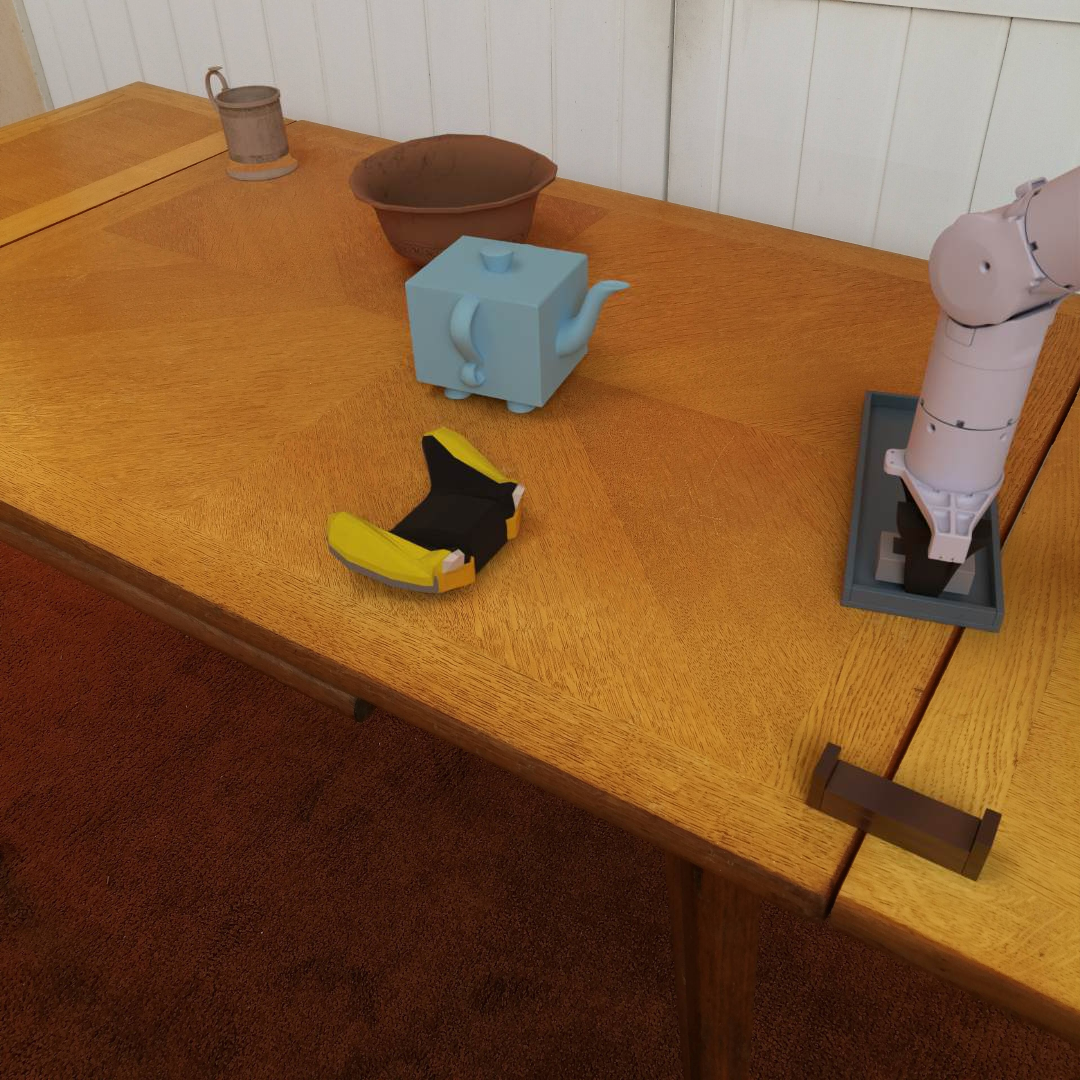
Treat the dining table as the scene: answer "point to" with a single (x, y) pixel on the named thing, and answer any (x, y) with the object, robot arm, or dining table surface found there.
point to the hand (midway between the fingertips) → (921, 575)
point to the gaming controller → (436, 523)
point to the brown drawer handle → (902, 815)
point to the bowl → (452, 191)
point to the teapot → (503, 319)
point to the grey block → (893, 565)
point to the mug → (251, 126)
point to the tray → (876, 512)
